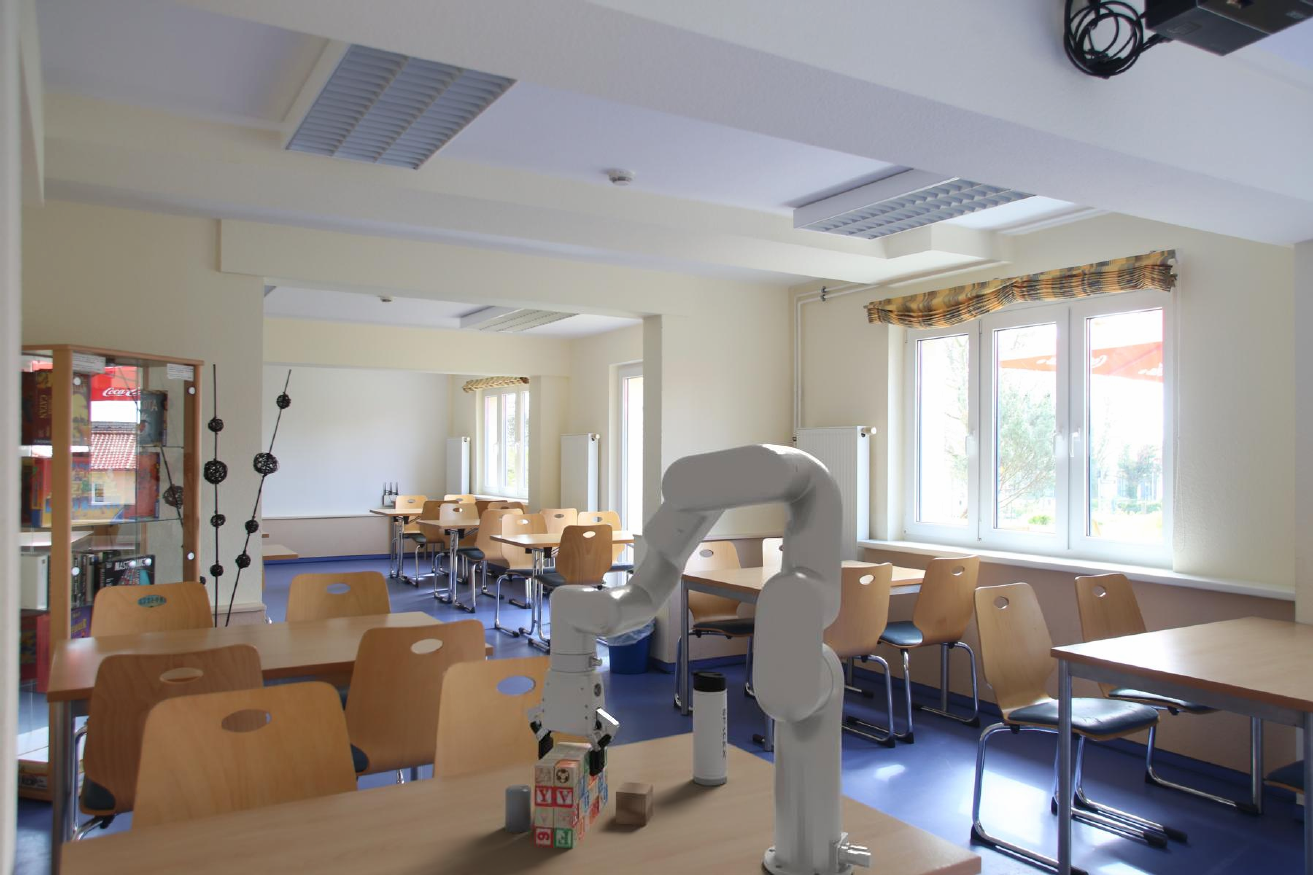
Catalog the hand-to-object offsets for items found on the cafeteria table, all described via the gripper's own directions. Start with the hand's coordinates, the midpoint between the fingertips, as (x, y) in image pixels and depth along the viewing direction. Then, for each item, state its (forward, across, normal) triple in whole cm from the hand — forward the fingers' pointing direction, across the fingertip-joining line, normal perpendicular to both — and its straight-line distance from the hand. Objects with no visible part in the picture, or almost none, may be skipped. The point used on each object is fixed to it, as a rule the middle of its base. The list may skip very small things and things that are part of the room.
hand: (570, 768), depth 145 cm
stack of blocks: (+9, -1, 0) cm, 9 cm away
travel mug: (+8, -12, -29) cm, 32 cm away
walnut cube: (+8, -9, -6) cm, 13 cm away
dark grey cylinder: (+8, +6, +6) cm, 12 cm away
